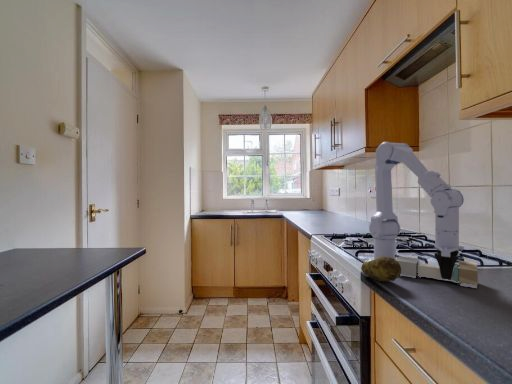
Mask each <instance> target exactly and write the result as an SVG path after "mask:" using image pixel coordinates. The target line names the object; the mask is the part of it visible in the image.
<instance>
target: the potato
mask: <svg viewBox="0 0 512 384" xmlns="http://www.w3.org/2000/svg"><path fill="white" fill-rule="evenodd" d="M373 259H374V258H373ZM371 260H372V259H371ZM371 260H368V261H364V262H363V263H362V264H361V266H360V267H361V269H360V270H361V272H362V273H363V274H364V275H365V276H366V277H368V278H372V279H373V278H374V279H373V280H376V281H379V280H380V281H379V282H384V281H386V282H390V281H391V282H394V281H395V280H396V279H397V278H399V277H400V276H399V275H400V274H401V267H400V264H399V263H398V262H397V261H396V260H395V259H393V258H390V257H389V258H388V257H379V258H376V259H374V260H372V261H371Z"/></svg>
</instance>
